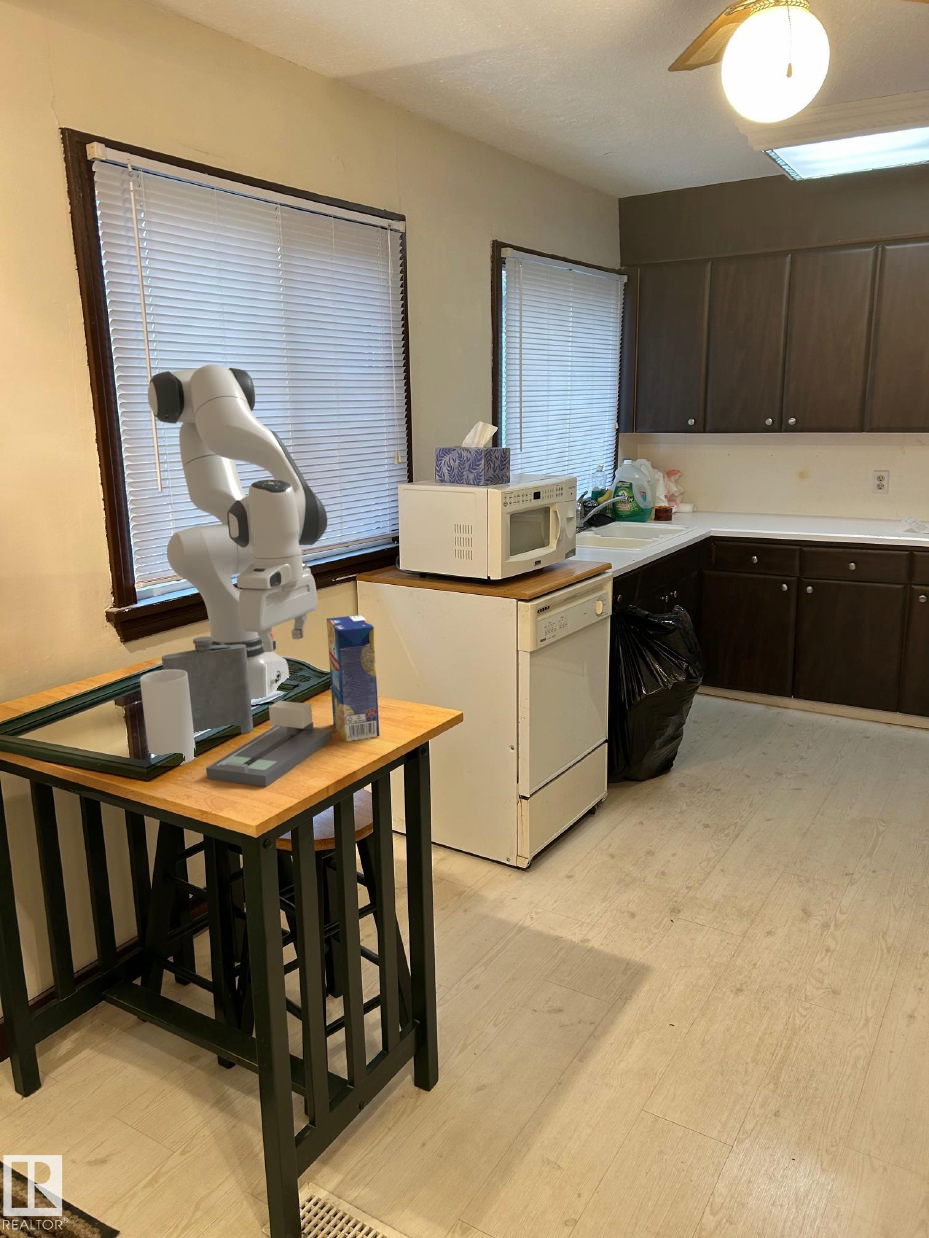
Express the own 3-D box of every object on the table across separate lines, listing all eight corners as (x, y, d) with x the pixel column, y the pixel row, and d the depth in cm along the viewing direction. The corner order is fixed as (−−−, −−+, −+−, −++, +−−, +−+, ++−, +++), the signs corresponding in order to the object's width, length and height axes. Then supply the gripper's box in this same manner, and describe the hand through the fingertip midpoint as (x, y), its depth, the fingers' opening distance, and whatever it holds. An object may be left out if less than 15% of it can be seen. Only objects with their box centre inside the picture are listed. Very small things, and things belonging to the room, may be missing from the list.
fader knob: (281, 727, 173) (279, 700, 171) (313, 731, 170) (311, 703, 169) (271, 734, 169) (268, 706, 168) (303, 738, 167) (301, 710, 166)
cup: (179, 746, 171) (170, 666, 167) (205, 756, 166) (196, 673, 162) (140, 760, 165) (130, 677, 161) (165, 770, 160) (156, 685, 156)
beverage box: (366, 719, 183) (360, 614, 178) (379, 736, 173) (373, 626, 168) (333, 723, 181) (326, 618, 176) (344, 742, 171) (337, 630, 166)
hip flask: (173, 747, 171) (162, 646, 166) (169, 740, 174) (158, 641, 170) (255, 731, 178) (246, 634, 173) (249, 725, 181) (241, 630, 177)
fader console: (278, 733, 176) (277, 718, 176) (332, 739, 172) (331, 724, 171) (207, 778, 156) (205, 761, 155) (266, 786, 151) (264, 769, 151)
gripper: (294, 561, 173) (300, 630, 176) (230, 580, 154) (237, 657, 157) (323, 562, 170) (328, 632, 173) (261, 581, 152) (267, 659, 155)
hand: (284, 644), depth 165 cm, fingers open, 8 cm apart
